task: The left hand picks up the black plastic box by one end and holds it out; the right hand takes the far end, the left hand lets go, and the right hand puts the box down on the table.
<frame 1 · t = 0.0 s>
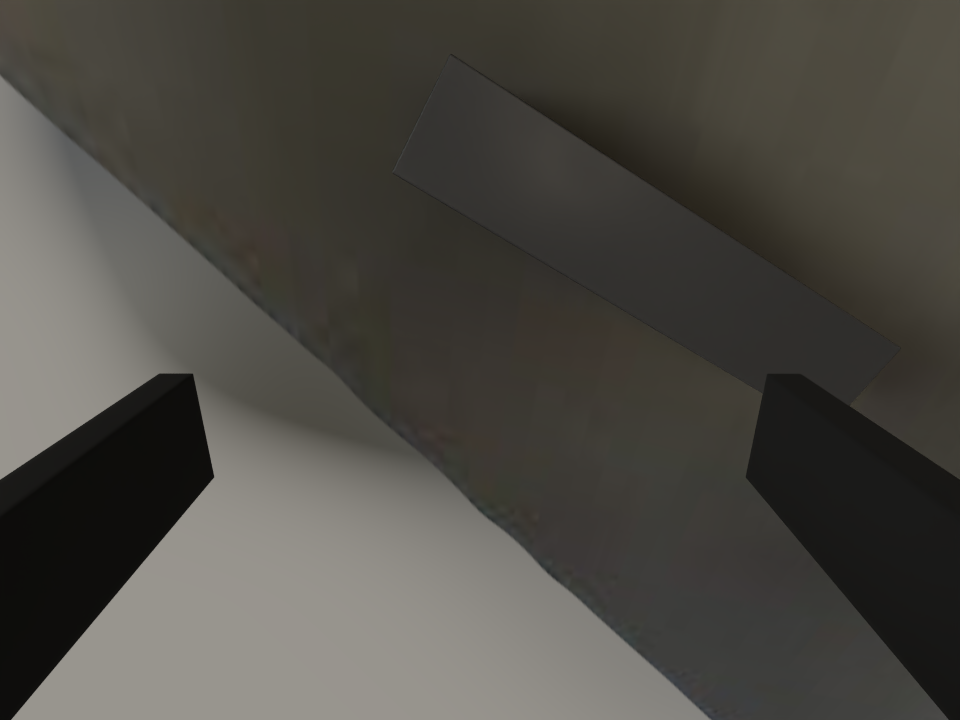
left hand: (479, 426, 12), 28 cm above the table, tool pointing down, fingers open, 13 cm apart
box: (613, 237, 38), on the table
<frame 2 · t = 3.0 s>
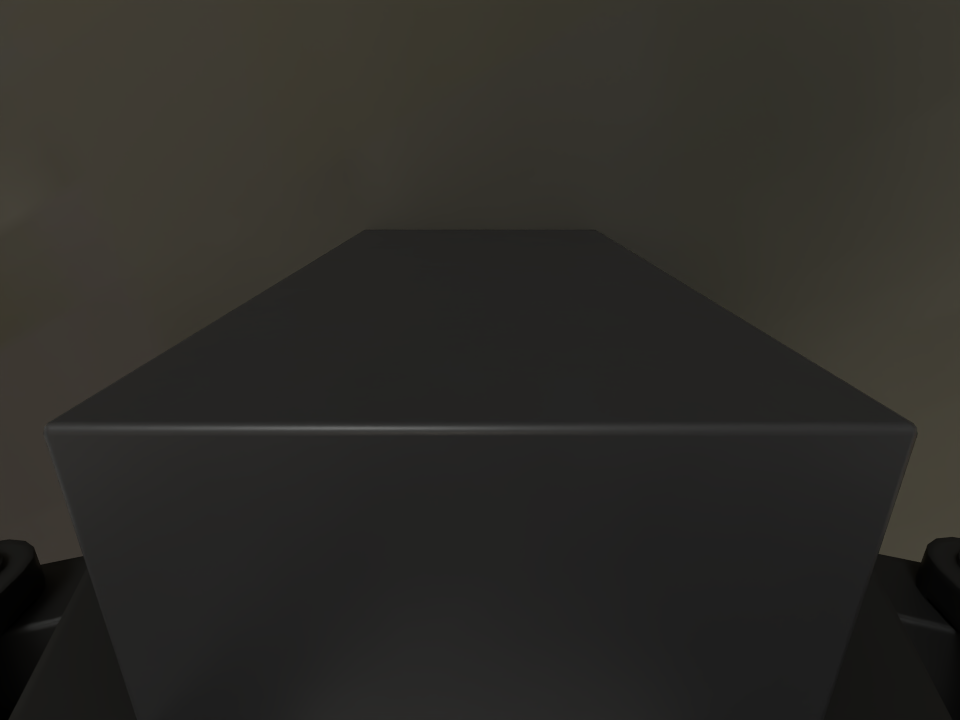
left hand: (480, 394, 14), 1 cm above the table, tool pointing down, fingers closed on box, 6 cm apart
box: (480, 647, 19), on the table, touching left hand
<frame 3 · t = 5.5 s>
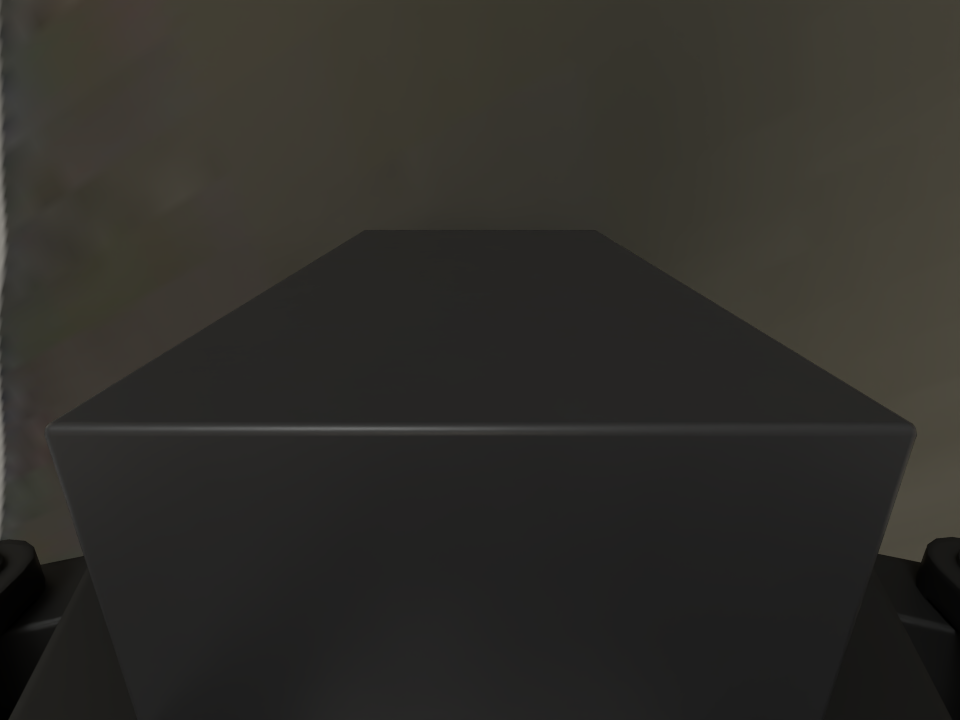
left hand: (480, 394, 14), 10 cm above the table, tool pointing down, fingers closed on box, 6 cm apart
box: (480, 647, 19), point 8 cm above the table, touching left hand
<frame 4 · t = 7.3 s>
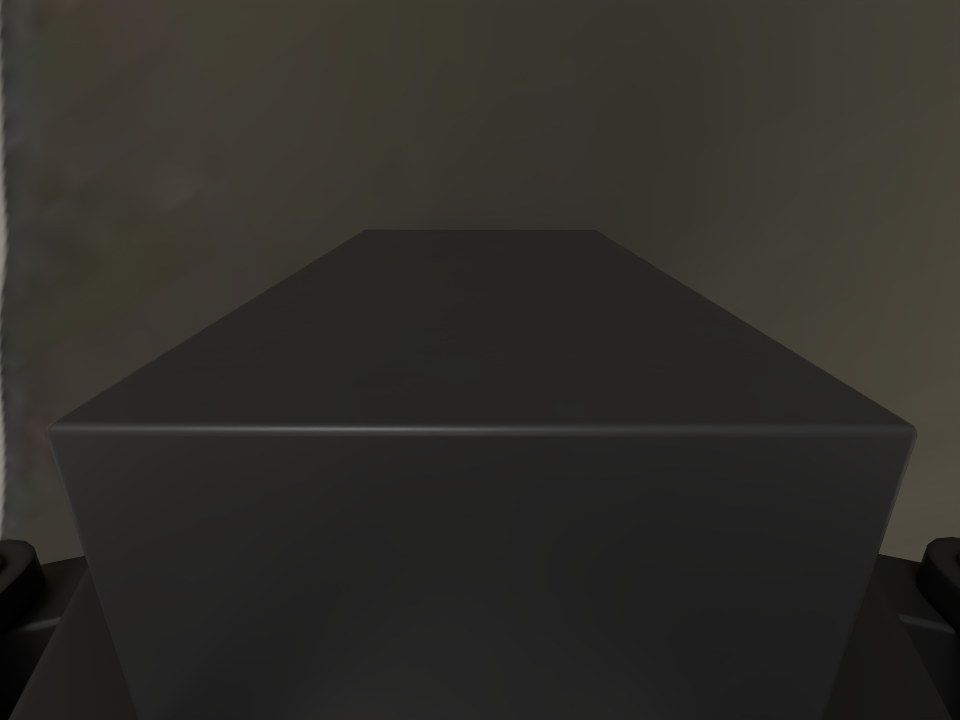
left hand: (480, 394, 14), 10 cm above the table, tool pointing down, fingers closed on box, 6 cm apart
box: (479, 646, 19), point 8 cm above the table, touching left hand, right hand
when the left hand's fingers open (10 cm above the table, at t = 8.0 s): box stays where it is, held by the right hand.
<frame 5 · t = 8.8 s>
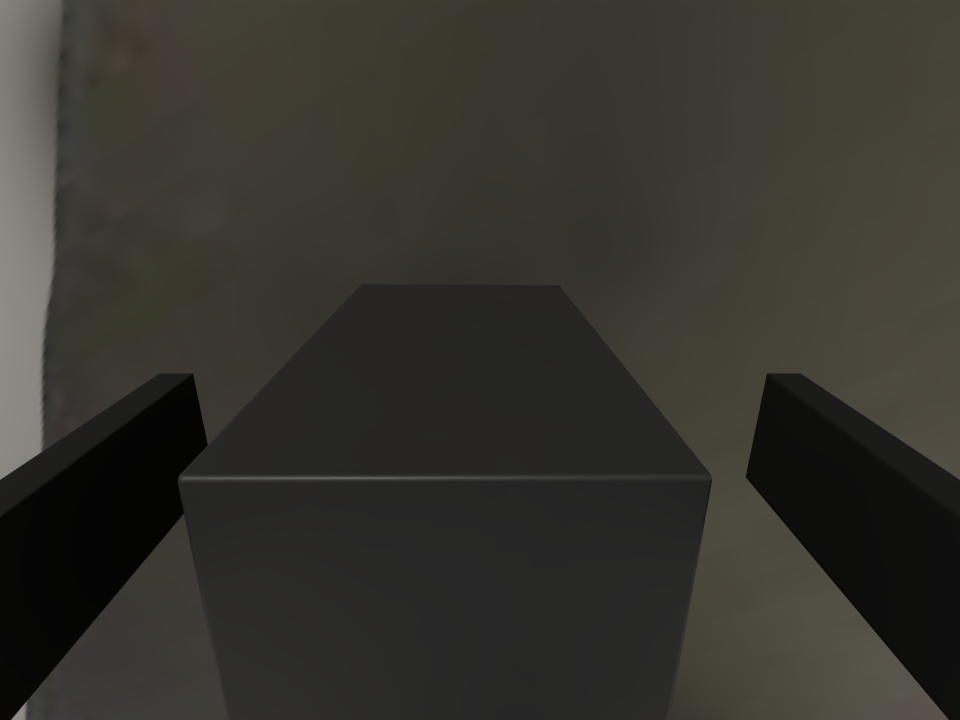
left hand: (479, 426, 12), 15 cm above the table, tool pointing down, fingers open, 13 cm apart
box: (461, 648, 21), point 10 cm above the table, touching right hand
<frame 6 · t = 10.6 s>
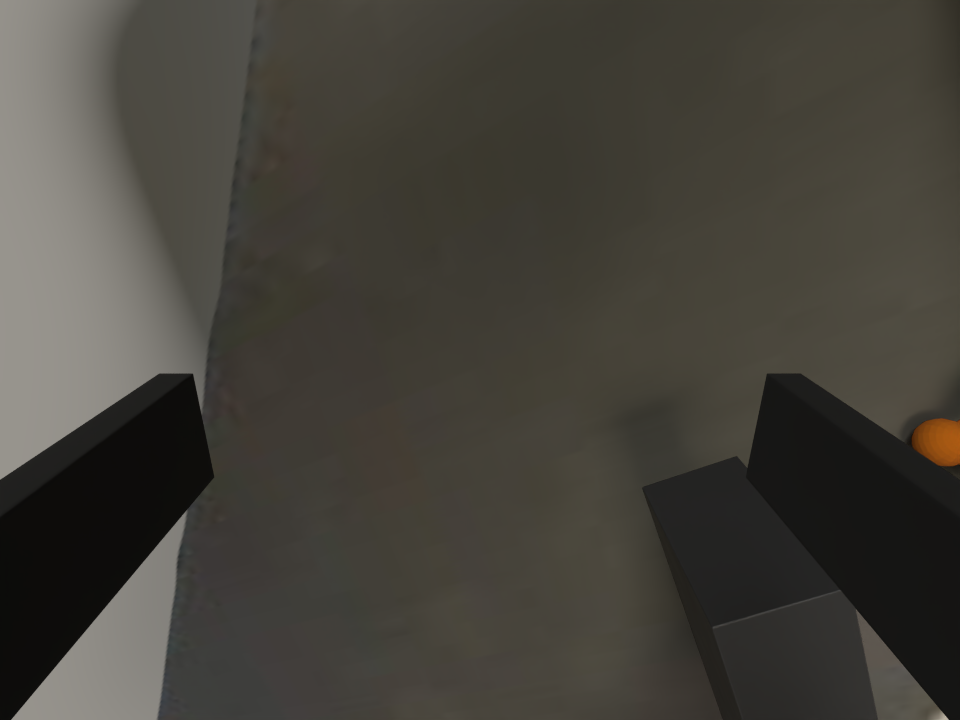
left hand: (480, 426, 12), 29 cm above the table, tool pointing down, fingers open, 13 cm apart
box: (738, 634, 38), point 11 cm above the table, touching right hand
when the right hand's fingers open (3 cm above the table, at t = 12.1 s): box drops 2 cm, on the table.
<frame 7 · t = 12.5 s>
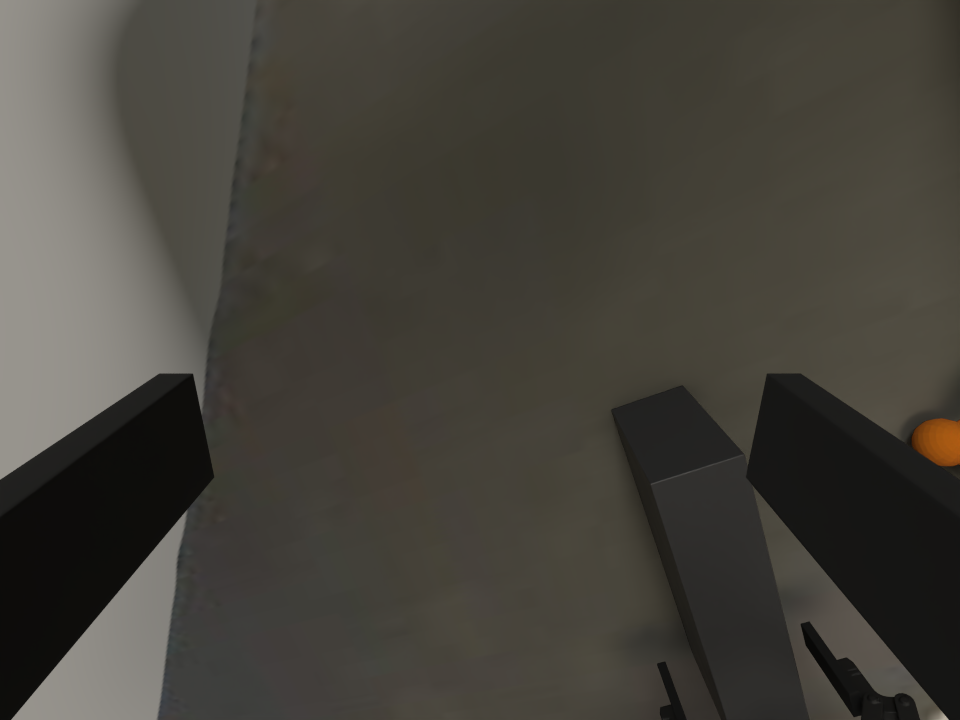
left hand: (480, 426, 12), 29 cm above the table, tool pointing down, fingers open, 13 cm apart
box: (687, 532, 48), on the table
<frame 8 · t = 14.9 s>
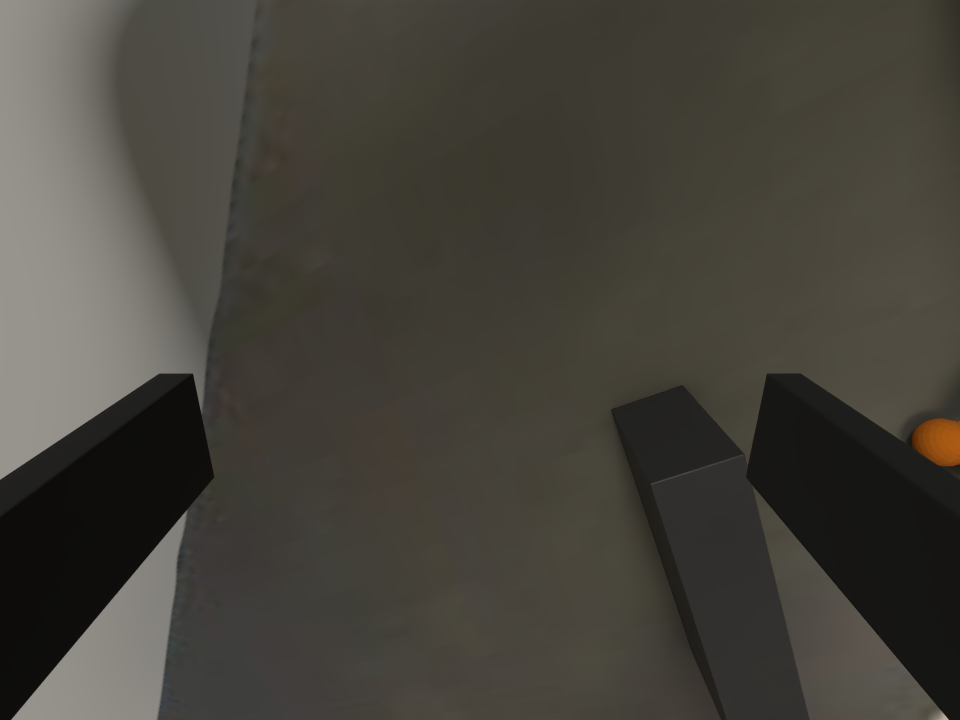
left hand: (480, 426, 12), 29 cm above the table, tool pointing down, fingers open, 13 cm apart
box: (687, 532, 48), on the table
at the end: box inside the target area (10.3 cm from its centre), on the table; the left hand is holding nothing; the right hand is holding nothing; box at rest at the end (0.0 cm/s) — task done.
